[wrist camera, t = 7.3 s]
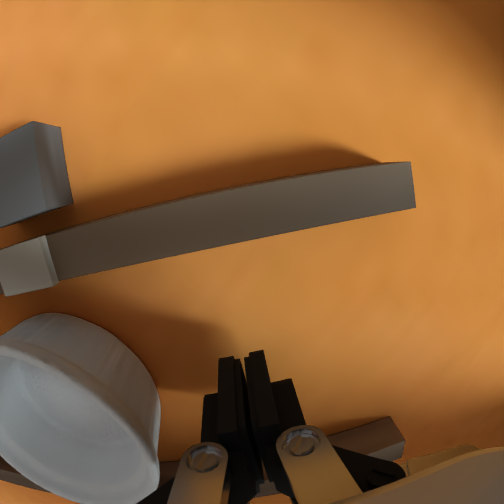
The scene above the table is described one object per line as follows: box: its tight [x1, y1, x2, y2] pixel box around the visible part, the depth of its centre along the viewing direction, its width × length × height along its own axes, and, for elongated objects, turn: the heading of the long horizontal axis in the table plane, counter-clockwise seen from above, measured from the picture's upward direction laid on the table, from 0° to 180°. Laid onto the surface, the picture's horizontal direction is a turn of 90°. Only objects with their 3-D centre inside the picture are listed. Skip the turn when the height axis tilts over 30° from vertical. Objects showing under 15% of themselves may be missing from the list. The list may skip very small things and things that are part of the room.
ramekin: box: [0, 313, 161, 504], centre depth 10 cm, size 9×9×4 cm
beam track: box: [0, 121, 416, 498], centre depth 11 cm, size 22×28×2 cm
